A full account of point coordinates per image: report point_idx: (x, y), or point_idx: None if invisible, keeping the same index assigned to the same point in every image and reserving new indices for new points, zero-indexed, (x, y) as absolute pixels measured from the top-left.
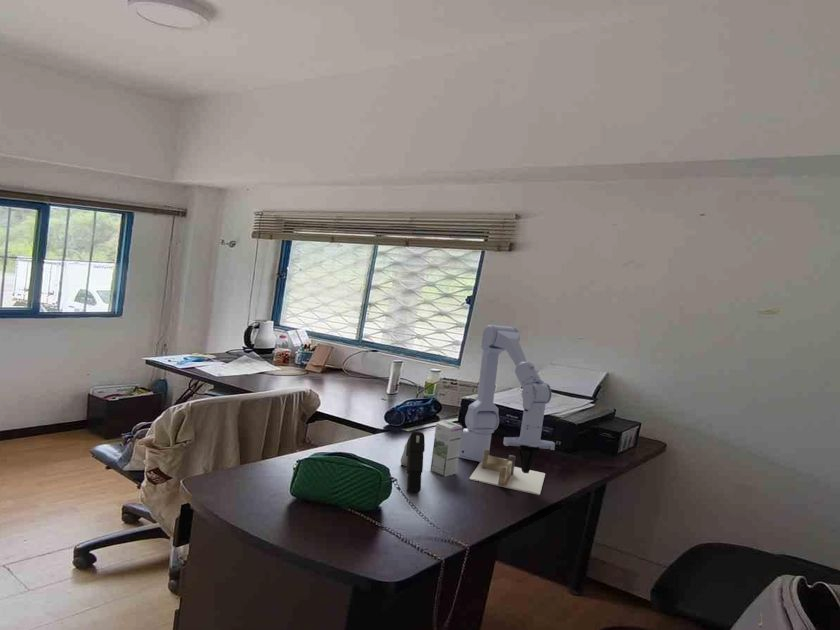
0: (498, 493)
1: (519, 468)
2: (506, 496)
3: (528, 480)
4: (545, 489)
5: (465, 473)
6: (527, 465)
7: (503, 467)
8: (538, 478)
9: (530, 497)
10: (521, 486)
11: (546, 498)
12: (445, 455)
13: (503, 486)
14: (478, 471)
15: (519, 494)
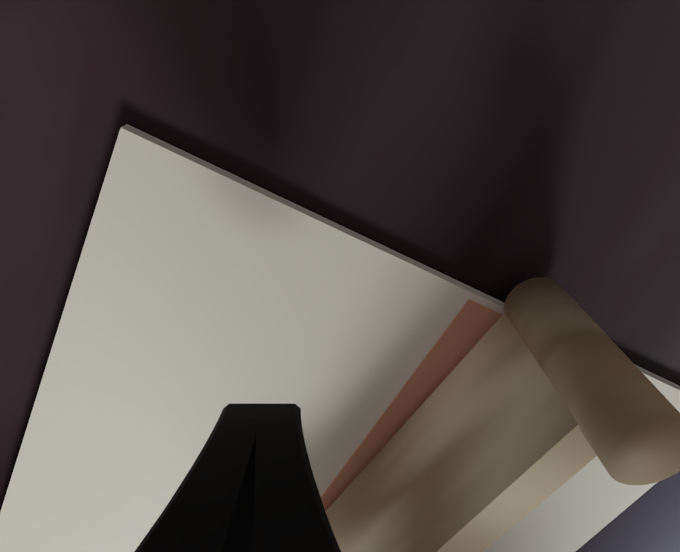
0: (654, 111)
1: None
2: (608, 20)
3: (167, 460)
4: (20, 312)
5: (667, 504)
6: (255, 501)
7: (653, 450)
8: (53, 513)
9: (280, 30)
10: (294, 316)
11: (51, 24)
12: None
13: (492, 300)
14: (555, 540)
15: (394, 117)
